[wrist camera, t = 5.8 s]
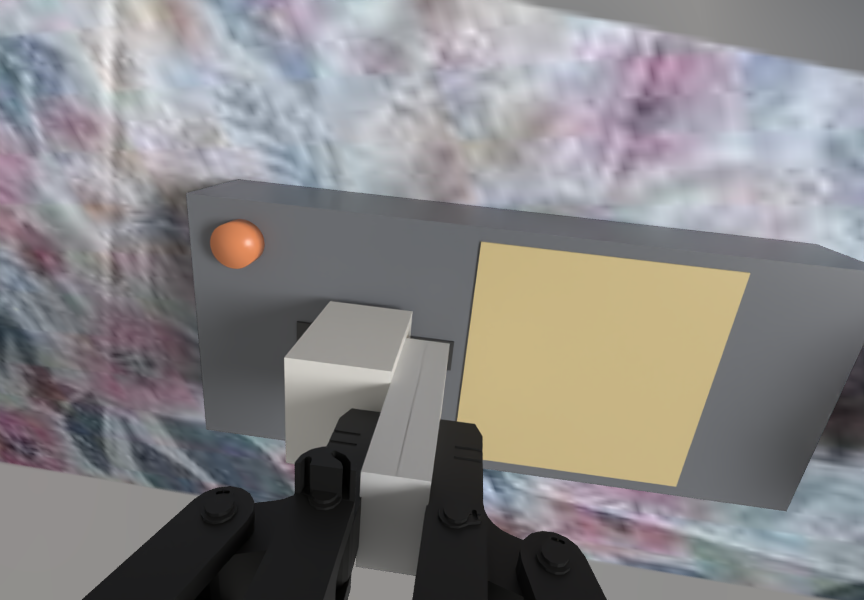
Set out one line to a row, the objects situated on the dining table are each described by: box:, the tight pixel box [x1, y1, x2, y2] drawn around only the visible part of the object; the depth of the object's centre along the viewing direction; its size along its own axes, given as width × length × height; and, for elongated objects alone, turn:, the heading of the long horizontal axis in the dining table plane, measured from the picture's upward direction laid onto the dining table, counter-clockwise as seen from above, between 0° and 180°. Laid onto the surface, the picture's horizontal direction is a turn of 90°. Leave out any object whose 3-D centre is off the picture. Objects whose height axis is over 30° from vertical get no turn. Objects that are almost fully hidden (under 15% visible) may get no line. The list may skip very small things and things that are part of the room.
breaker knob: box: [284, 301, 413, 464], centre depth 16 cm, size 3×4×4 cm
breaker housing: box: [186, 179, 864, 511], centre depth 20 cm, size 24×10×5 cm, turn 84°
